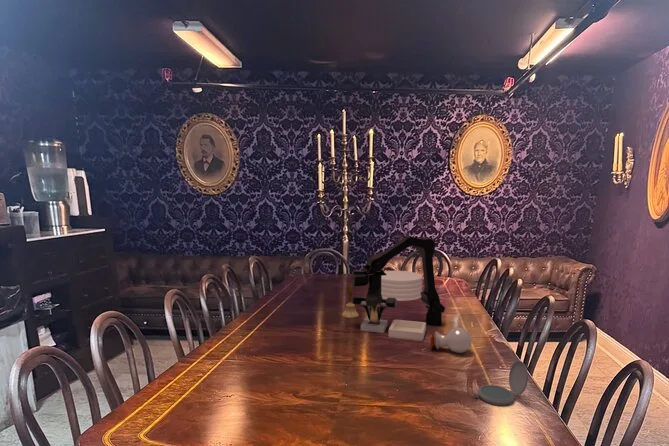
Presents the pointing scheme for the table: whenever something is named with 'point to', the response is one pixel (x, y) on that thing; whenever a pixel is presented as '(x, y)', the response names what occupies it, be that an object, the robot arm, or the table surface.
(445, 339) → the potion bottle
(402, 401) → the table surface
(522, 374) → the pocket watch
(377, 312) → the brass peg
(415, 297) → the plate stack
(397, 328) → the tray
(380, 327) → the collar block
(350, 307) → the hand bell
